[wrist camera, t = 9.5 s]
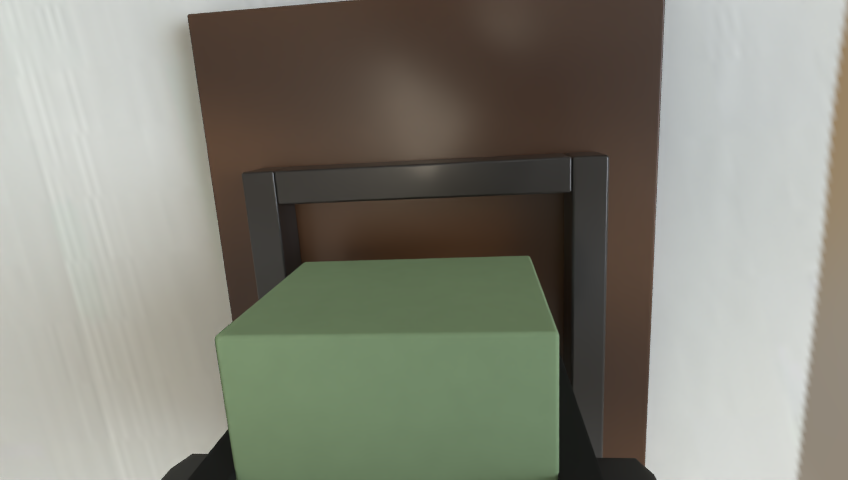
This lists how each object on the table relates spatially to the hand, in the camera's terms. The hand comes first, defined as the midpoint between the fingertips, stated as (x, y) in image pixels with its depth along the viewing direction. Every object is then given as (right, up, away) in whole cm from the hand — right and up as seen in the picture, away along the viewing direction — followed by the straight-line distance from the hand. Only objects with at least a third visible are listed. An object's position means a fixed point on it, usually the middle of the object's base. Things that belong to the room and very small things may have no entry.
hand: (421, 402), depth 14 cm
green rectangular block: (0, 0, 0) cm, 0 cm away
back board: (0, +1, +4) cm, 4 cm away
